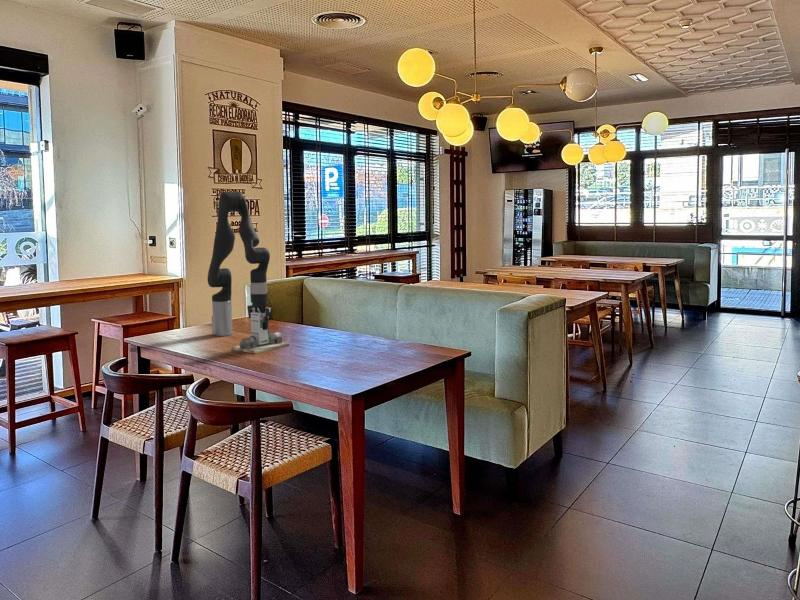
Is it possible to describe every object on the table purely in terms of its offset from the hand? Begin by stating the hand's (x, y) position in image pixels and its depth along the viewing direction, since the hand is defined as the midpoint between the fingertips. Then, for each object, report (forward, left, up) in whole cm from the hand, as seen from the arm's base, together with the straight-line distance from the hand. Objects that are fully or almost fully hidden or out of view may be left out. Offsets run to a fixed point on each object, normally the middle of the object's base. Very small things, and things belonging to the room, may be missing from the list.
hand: (260, 328), depth 283 cm
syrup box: (0, 0, -7) cm, 7 cm away
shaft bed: (0, 0, -9) cm, 9 cm away
